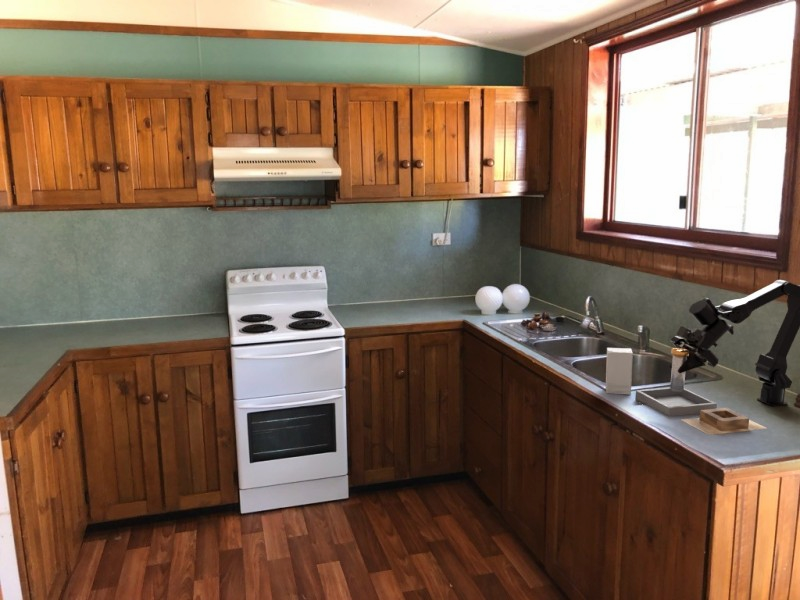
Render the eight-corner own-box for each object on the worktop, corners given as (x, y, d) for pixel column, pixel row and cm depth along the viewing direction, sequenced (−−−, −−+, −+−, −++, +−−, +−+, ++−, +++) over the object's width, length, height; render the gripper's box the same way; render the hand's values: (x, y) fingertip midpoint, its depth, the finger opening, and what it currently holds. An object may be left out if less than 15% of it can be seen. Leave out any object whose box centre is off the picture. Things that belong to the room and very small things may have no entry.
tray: (679, 396, 224) (680, 386, 223) (715, 414, 208) (716, 403, 207) (635, 400, 219) (636, 390, 219) (668, 419, 203) (669, 408, 203)
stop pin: (684, 388, 214) (688, 348, 211) (686, 393, 209) (690, 353, 206) (667, 386, 215) (670, 347, 213) (669, 391, 210) (672, 351, 208)
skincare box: (629, 390, 230) (632, 348, 227) (631, 395, 224) (634, 352, 221) (604, 388, 232) (606, 346, 229) (604, 393, 226) (607, 350, 223)
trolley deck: (736, 416, 205) (737, 404, 205) (766, 431, 194) (768, 418, 193) (680, 422, 200) (681, 410, 199) (708, 438, 189) (709, 424, 188)
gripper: (678, 311, 217) (643, 345, 218) (713, 324, 199) (675, 361, 199) (698, 334, 220) (664, 368, 220) (734, 349, 202) (697, 385, 202)
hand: (674, 370), depth 210 cm, fingers closed on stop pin, 4 cm apart
